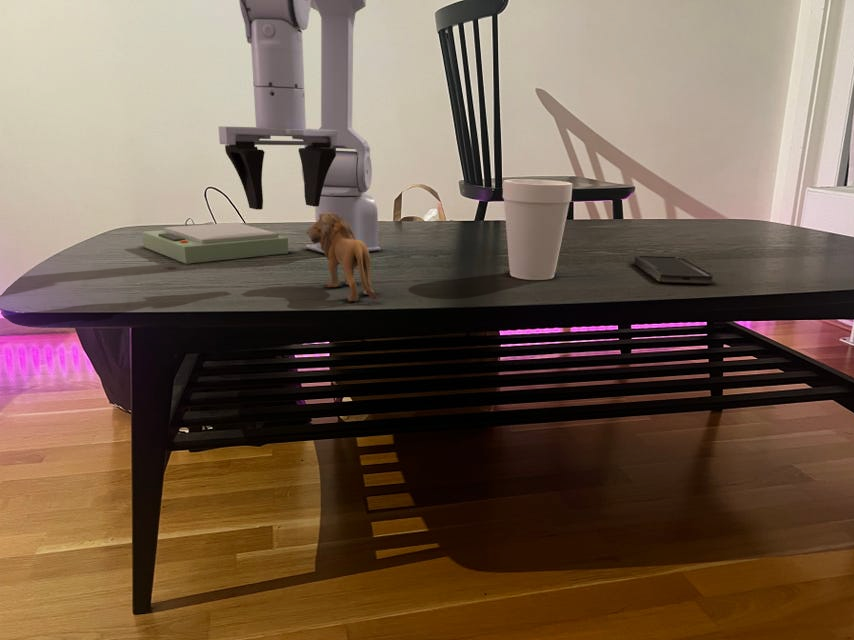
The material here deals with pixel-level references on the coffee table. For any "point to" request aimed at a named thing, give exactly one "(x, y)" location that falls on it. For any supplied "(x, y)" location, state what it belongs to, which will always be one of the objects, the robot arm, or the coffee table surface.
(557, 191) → the foam cup
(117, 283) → the coffee table surface
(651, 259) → the phone
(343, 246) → the lion figurine
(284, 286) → the coffee table surface
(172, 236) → the kitchen scale
